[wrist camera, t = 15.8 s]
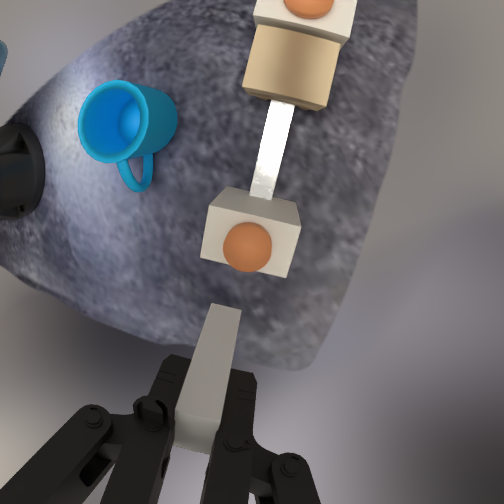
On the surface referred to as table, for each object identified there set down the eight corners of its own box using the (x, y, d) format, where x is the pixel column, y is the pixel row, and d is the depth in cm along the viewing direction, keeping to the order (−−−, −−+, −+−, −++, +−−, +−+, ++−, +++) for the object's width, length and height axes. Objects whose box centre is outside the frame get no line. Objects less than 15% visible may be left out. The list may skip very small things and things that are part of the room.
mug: (112, 98, 30) (73, 95, 23) (173, 80, 29) (143, 68, 22) (127, 190, 35) (92, 207, 27) (187, 179, 34) (162, 194, 26)
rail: (250, 191, 33) (249, 195, 32) (284, 48, 27) (285, 43, 25) (271, 196, 33) (271, 200, 32) (306, 53, 27) (308, 49, 25)
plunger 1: (228, 243, 30) (219, 265, 25) (236, 205, 29) (227, 221, 24) (267, 252, 30) (265, 276, 25) (277, 215, 29) (277, 233, 24)
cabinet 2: (257, 43, 27) (249, 14, 18) (266, 7, 25) (262, -29, 16) (331, 60, 27) (349, 37, 18) (339, 24, 25) (358, -7, 16)
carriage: (250, 97, 29) (241, 86, 22) (262, 48, 27) (257, 24, 19) (314, 112, 29) (326, 106, 22) (326, 63, 27) (340, 43, 19)
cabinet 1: (216, 226, 35) (197, 256, 27) (224, 185, 33) (205, 204, 25) (284, 242, 35) (286, 277, 27) (295, 202, 33) (301, 227, 25)
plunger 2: (278, 27, 21) (278, 6, 17) (287, -5, 20) (288, -29, 15) (321, 37, 21) (330, 19, 17) (328, 5, 20) (338, -18, 15)
